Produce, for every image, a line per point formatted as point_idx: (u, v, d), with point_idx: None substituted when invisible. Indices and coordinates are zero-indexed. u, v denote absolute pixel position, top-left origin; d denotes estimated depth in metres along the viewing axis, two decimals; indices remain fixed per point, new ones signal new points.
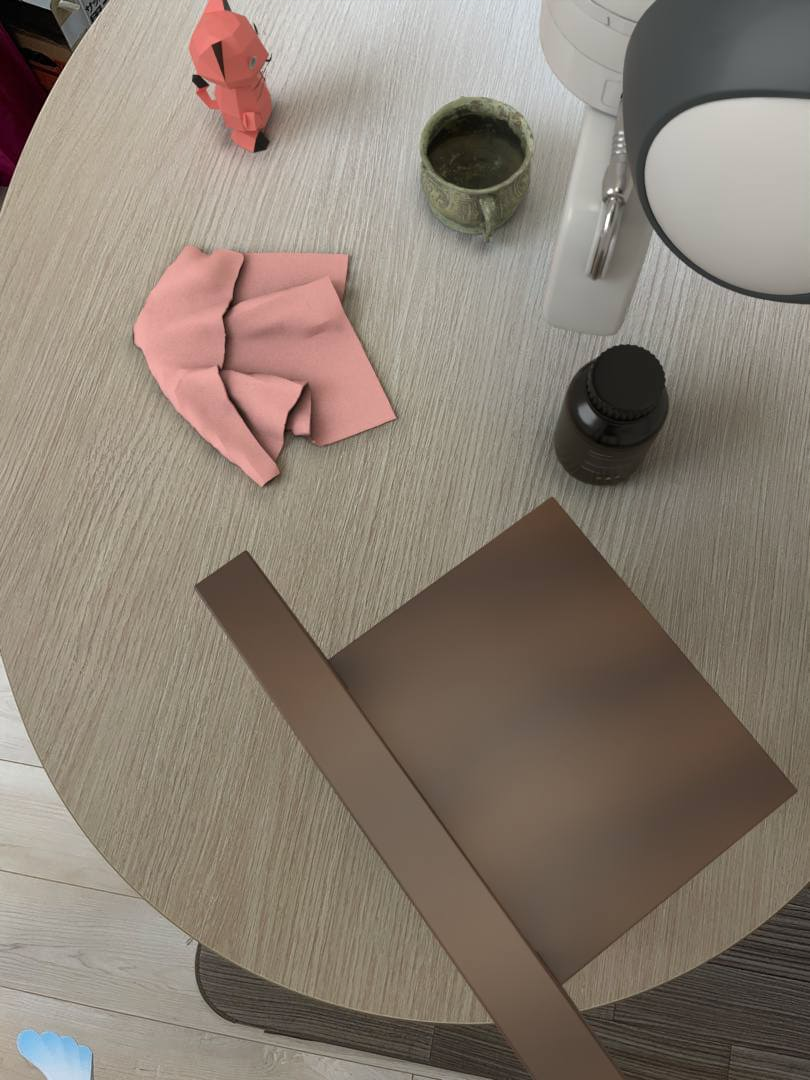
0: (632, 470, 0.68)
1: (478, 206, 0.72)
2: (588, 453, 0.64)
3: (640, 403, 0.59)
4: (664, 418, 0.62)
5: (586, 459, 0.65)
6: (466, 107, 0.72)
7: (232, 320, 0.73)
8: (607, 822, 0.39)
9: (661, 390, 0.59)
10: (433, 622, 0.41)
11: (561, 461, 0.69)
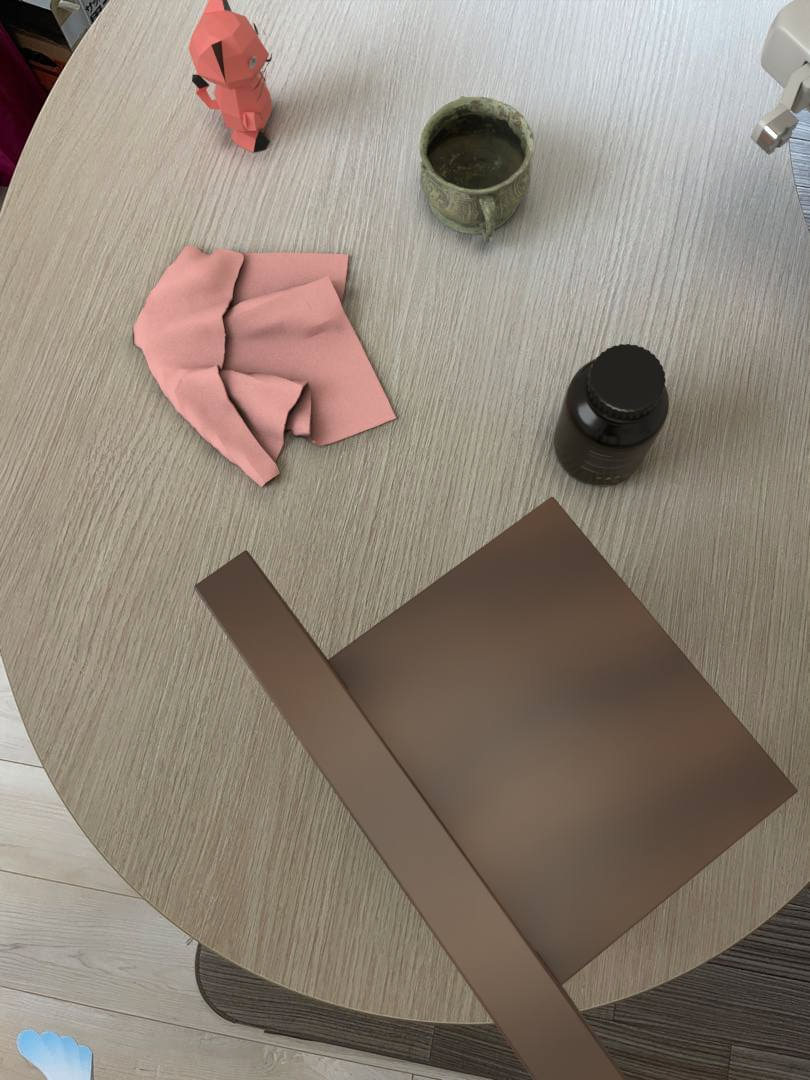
0: (632, 470, 0.68)
1: (478, 206, 0.72)
2: (588, 453, 0.64)
3: (640, 403, 0.59)
4: (664, 418, 0.62)
5: (586, 459, 0.65)
6: (466, 107, 0.72)
7: (232, 320, 0.73)
8: (607, 822, 0.39)
9: (661, 390, 0.59)
10: (433, 622, 0.41)
11: (561, 461, 0.69)
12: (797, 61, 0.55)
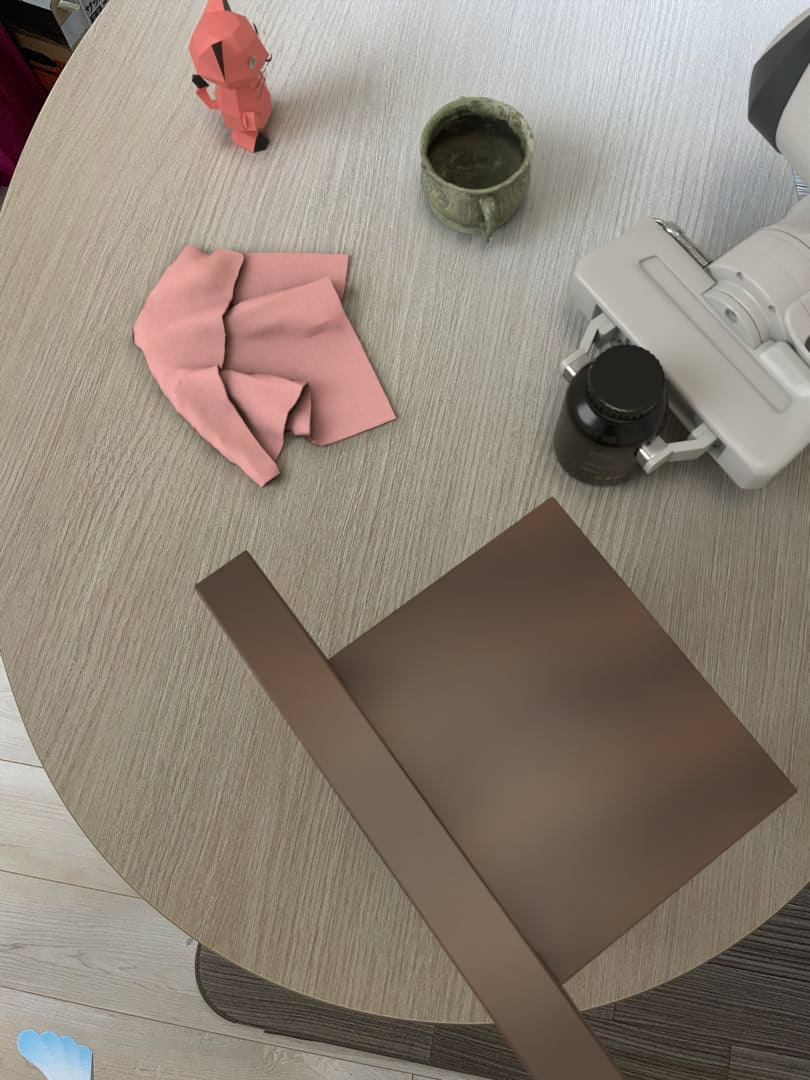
0: (632, 470, 0.68)
1: (478, 206, 0.72)
2: (588, 453, 0.64)
3: (640, 403, 0.59)
4: (664, 418, 0.62)
5: (586, 459, 0.65)
6: (466, 107, 0.72)
7: (232, 320, 0.73)
8: (607, 822, 0.39)
9: (661, 390, 0.59)
10: (433, 622, 0.41)
11: (561, 461, 0.69)
12: (591, 303, 0.66)
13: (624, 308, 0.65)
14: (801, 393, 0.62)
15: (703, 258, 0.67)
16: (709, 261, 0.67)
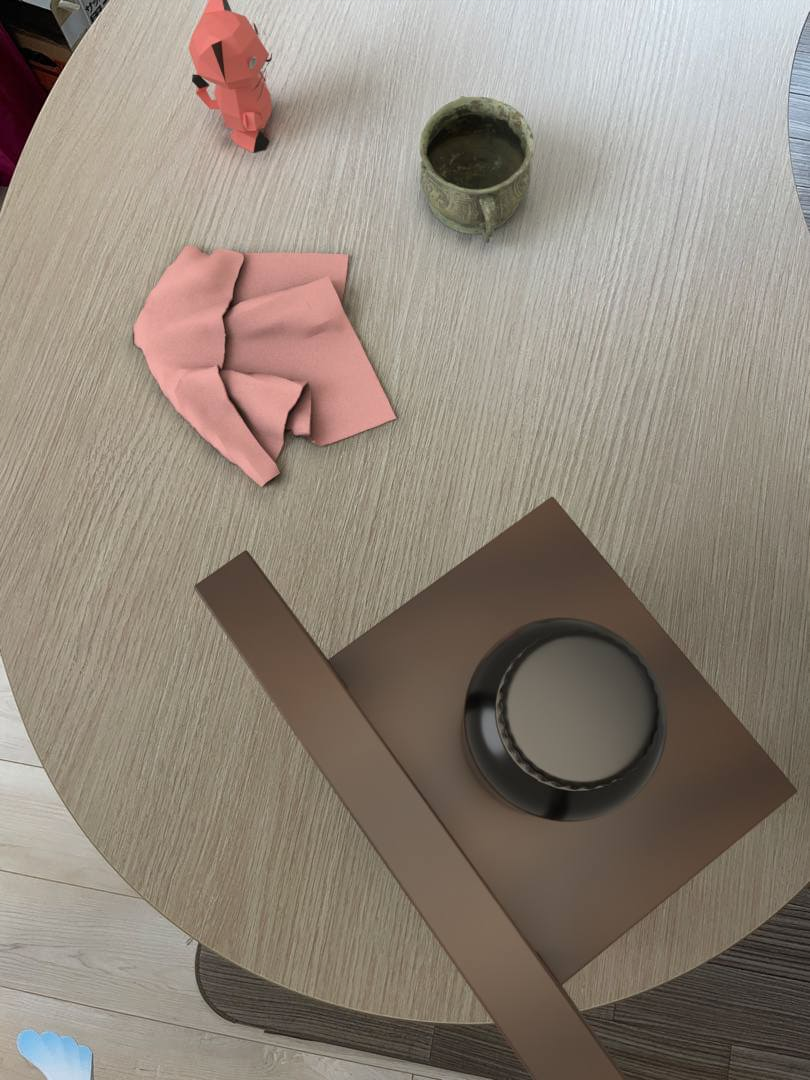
0: None
1: (478, 206, 0.72)
2: (511, 805, 0.33)
3: (606, 767, 0.28)
4: (658, 759, 0.31)
5: (509, 805, 0.34)
6: (466, 107, 0.72)
7: (232, 320, 0.73)
8: (607, 822, 0.39)
9: (651, 737, 0.28)
10: (433, 622, 0.41)
11: None
12: None
13: None
14: None
15: None
16: None
